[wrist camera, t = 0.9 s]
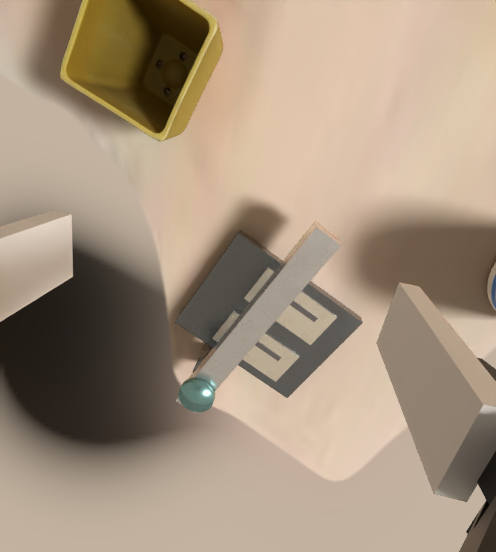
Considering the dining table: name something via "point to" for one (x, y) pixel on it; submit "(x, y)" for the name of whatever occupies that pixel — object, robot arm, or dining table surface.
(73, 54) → the flower pot
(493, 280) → the supplement tub
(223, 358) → the swing bar
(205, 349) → the pivot post
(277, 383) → the label plate
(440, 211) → the dining table surface
